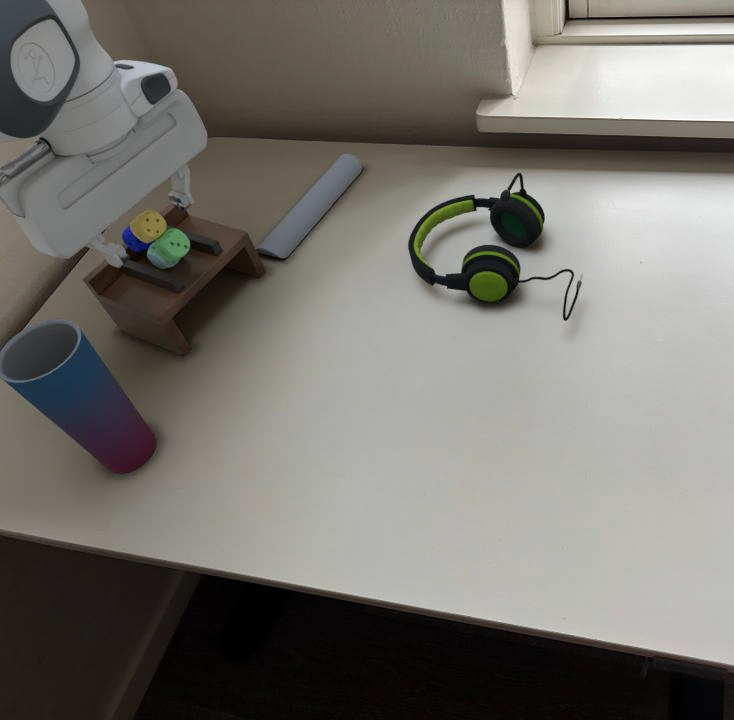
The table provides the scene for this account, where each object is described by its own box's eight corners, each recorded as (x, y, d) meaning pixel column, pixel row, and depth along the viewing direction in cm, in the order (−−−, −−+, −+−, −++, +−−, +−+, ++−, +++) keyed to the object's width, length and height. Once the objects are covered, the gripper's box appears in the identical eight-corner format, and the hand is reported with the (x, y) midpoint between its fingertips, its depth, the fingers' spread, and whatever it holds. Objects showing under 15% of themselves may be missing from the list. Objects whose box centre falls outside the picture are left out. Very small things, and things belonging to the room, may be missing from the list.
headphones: (564, 270, 64) (366, 239, 70) (567, 342, 71) (388, 307, 77) (608, 164, 73) (430, 145, 79) (607, 237, 80) (444, 214, 86)
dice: (130, 255, 78) (103, 210, 73) (147, 240, 79) (122, 195, 74) (186, 279, 76) (163, 234, 70) (202, 263, 77) (181, 218, 72)
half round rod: (254, 256, 86) (248, 245, 84) (339, 162, 96) (335, 151, 95) (282, 263, 84) (277, 252, 83) (365, 167, 95) (362, 155, 94)
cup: (137, 489, 66) (42, 389, 55) (80, 473, 68) (-24, 374, 57) (179, 429, 70) (98, 325, 58) (124, 415, 72) (35, 312, 61)
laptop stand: (184, 356, 76) (148, 304, 70) (120, 331, 80) (81, 279, 74) (266, 271, 84) (240, 217, 78) (204, 252, 88) (175, 198, 81)
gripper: (7, 185, 57) (98, 308, 67) (184, 60, 68) (239, 183, 78) (-40, 171, 59) (55, 291, 70) (138, 52, 70) (197, 172, 80)
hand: (154, 233), depth 74 cm, fingers open, 8 cm apart
